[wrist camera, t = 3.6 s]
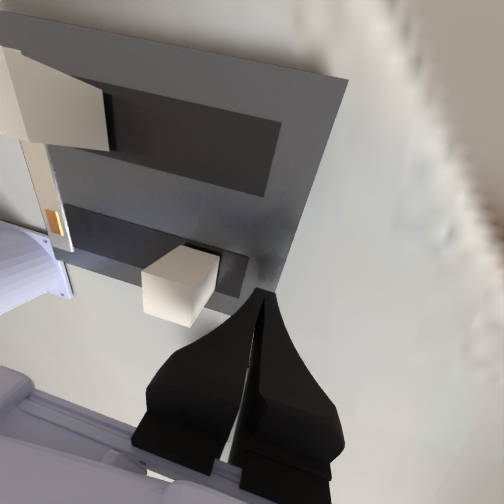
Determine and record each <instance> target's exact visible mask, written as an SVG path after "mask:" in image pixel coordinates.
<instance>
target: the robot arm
mask: <svg viewBox="0 0 504 504" xmlns="http://www.w3.org/2000/svg"><path fill="white" fill-rule="evenodd" d="M46 292H48V293H51V294H54V295H57V296H60V297H63V298H66V299H70V298H72V297H73V294H72V290H71V287H70V283H69V280H68V276H67V273H66V269H65V266H64V262H62V261H59V260H56V258H55V255H54V252H53V249H52V245H51V242H50V239H49V236H48V235H46V234H42V233H39V232H36V231H33V230H30V229H26V228H23V227H20V226H17V225H13V224H10V223H7V222H4V221H0V315H1V314H3V313H5V312H7V311H9V310H12V309H14V308H16V307H18V306H20V305H22V304H24V303H26V302H28V301H30V300H32V299H34V298H36V297H38V296H40V295H42V294H44V293H46ZM254 329H255V330H254ZM253 333H254V337H253ZM252 339H253V344H252ZM251 344H252V352H251V359H250V366H249V371H248V375H247V380H246V384H245V378H246V372H247V366H248V360H249V355H250V349H251ZM244 385H245V389H244ZM243 391H244V393H243ZM242 395H243V398H242ZM241 400H242V402H241ZM146 404H147V412H146V413H145V415H144V417H143V418H142V420H141V422H140V423H139V425H138V427H137V428H136V427H133V426H131V425H128V424H126V423H123V422H120V421H118V420H115V419H113V418H110V417H107V416H105V415H102V414H100V413H97V412H95V411H92V410H89V409H87V408H84V407H82V406H79V405H77V404H74V403H71V402H69V401H66V400H64V399H61V398H59V397H56V396H53V395H51V394H48V393H46V392H43V391H41V390H38V389H35V384H34V382H33V381H32V380H31V378H29V377H28V376H27V375H25V374H23V373H20V372H17V371H15V370H12V369H10V368H7V367H4V366H0V504H331V496H330V488H329V481H331V479H332V475H331V468H330V463H331V462H332V461H333V460H334V459H335V458H336V457H338V456H339V455H340V454H341V452H342V451H343V449H344V448H345V441H344V436H343V431H342V427H341V423H340V420H339V416H338V413H337V410H336V407H335V405H334V404H333V403H332V401H331V400H330V399H329V398H328V396H327V395H326V394H325V392H324V391H323V390H322V389H321V387H320V386H319V385H318V383H317V382H316V381H315V379H314V378H313V376H312V375H311V373H310V372H309V370H308V369H307V367H306V366H305V364H304V362H303V361H302V359H301V358H300V356H299V354H298V352H297V350H296V349H295V347H294V345H293V343H292V341H291V339H290V337H289V334H288V332H287V330H286V327H285V325H284V322H283V319H282V316H281V313H280V310H279V307H278V303H277V298H276V294H275V293H274V292H271V291H268V290H264V289H261V288H258V287H256V288H254V290H253V292H252V294H251V295H250V297H249V298H248V299H247V300H246V302H245V303H244V304H243V305H242V306H241V307H240V308H239V309H238V310H237V311H236V312H235V313H234V314H233V315H232V316H231V317H230V318H229V319H227V320H226V321H225V322H224V323H222V324H221V325H220V326H218V327H217V328H216V329H214V330H213V331H211V332H210V333H208V334H206V335H205V336H203V337H202V338H200V339H198V340H197V341H195V342H193V343H191V344H189V345H187V346H185V347H183V348H181V349H179V350H177V351H175V352H174V353H173V354H172V355H171V356H170V357H169V358H168V359H167V361H166V362H165V363H164V364H163V365H162V367H161V368H160V369H159V370H158V372H157V373H156V375H155V376H154V378H153V379H152V381H151V382H150V384H149V385H148V387H147V388H146ZM240 405H241V406H240ZM239 409H240V411H239ZM238 412H239V415H238V419H237V424H236V428H235V432H234V436H233V441H232V445H231V449H230V453H229V458H228V462H227V463H226V462H223V461H221V460H220V458H221V455H222V453H223V450H224V447H225V444H226V442H227V441H228V438H229V436H230V433H231V430H232V428H233V425H234V422H235V420H236V417H237V414H238ZM145 468H146V469H145ZM147 469H148V470H151V471H153V472H156V473H158V474H161V475H163V476H166V477H168V478H171V479H173V480H175V481H174V482H172V483H171V482H167V481H164V480H160V479H157V478H153V477H150V476H146V475H147Z"/></svg>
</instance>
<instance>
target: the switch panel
mask: <svg viewBox="0 0 504 504" xmlns="http://www.w3.org/2000/svg"><path fill="white" fill-rule="evenodd" d="M0 46H3V47H5V48H8V49H10V50H12V51H14V52H17V53H19V54H21V55H23V56H26V57H28V58H30V59H33V60H35V61H37V62H39V63H42V64H44V65H46V66H49V67H51V68H53V69H55V70H58V71H60V72H62V73H64V74H67V75H69V76H71V77H74V78H76V79H78V80H80V81H83V82H85V83H87V84H90V85H92V86H94V87H96V88H99V89H101V90H102V94H103V102H104V111H105V119H106V128H107V136H108V145H109V151H103V150H94V149H85V148H77V147H68V146H60V145H51V144H43V143H34V142H28V141H24V140H20V139H19V141H20V144H21V147H22V150H23V154H24V157H25V160H26V164H27V167H28V170H29V173H30V177H31V180H32V183H33V186H34V190H35V193H36V196H37V200H38V203H39V206H40V209H41V213H42V216H43V219H44V222H45V226H46V229H47V232H48V236H49V239H50V242H51V245H52V249H53V252H54V255H55V258H56V260H59V261H62V262H65V263H68V264H71V265H74V266H78V267H81V268H84V269H87V270H90V271H93V272H96V273H99V274H103V275H106V276H109V277H112V278H115V279H118V280H121V281H124V282H127V283H131V284H134V285H137V286H140V287H142V276H141V271H142V270H144V269H145V268H147V267H148V266H150V265H151V264H153V263H154V262H156V261H157V260H159V259H160V258H162V257H163V256H165V255H166V254H168V253H169V252H171V251H172V250H174V249H175V248H177V247H178V246H180V245H182V246H185V247H189V248H192V249H196V250H199V251H202V252H206V253H209V254H213V255H216V256H219V257H220V259H219V265H218V271H217V277H216V284H215V290H214V291H213V293H212V295H211V296H210V298H209V299H208V301H207V302H206V304H205V305H204V307H205V308H209V309H212V310H215V311H218V312H221V313H224V314H227V315H230V316H232V315H233V314H234V313H235V312H236V311H237V310H238V309H239V308H240V307H241V306H242V305H243V304H244V303H245V302H246V300H247V299H248V298H249V297H250V295H251V294H252V292H253V290H254V288H256V287H258V288H261V289H264V290H268V291H271V292H274V293H275V290H276V287H277V284H278V282H279V279H280V276H281V273H282V270H283V267H284V264H285V261H286V259H287V256H288V253H289V250H290V247H291V244H292V241H293V239H294V236H295V233H296V230H297V227H298V224H299V221H300V219H301V216H302V213H303V210H304V207H305V204H306V201H307V198H308V196H309V193H310V190H311V187H312V184H313V181H314V178H315V176H316V173H317V170H318V167H319V164H320V161H321V158H322V155H323V153H324V150H325V147H326V144H327V141H328V138H329V135H330V133H331V130H332V127H333V124H334V121H335V118H336V115H337V112H338V110H339V107H340V104H341V101H342V98H343V95H344V92H345V90H346V87H347V84H348V81H349V80H347V79H342V78H337V77H332V76H327V75H322V74H317V73H312V72H307V71H302V70H297V69H292V68H287V67H282V66H277V65H272V64H267V63H262V62H257V61H252V60H247V59H242V58H237V57H232V56H227V55H222V54H217V53H212V52H207V51H202V50H197V49H191V48H186V47H181V46H176V45H171V44H166V43H161V42H156V41H151V40H146V39H141V38H136V37H131V36H126V35H121V34H116V33H111V32H106V31H101V30H96V29H91V28H86V27H81V26H76V25H71V24H66V23H61V22H56V21H51V20H46V19H41V18H36V17H31V16H26V15H21V14H16V13H11V12H6V11H1V10H0Z"/></svg>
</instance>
